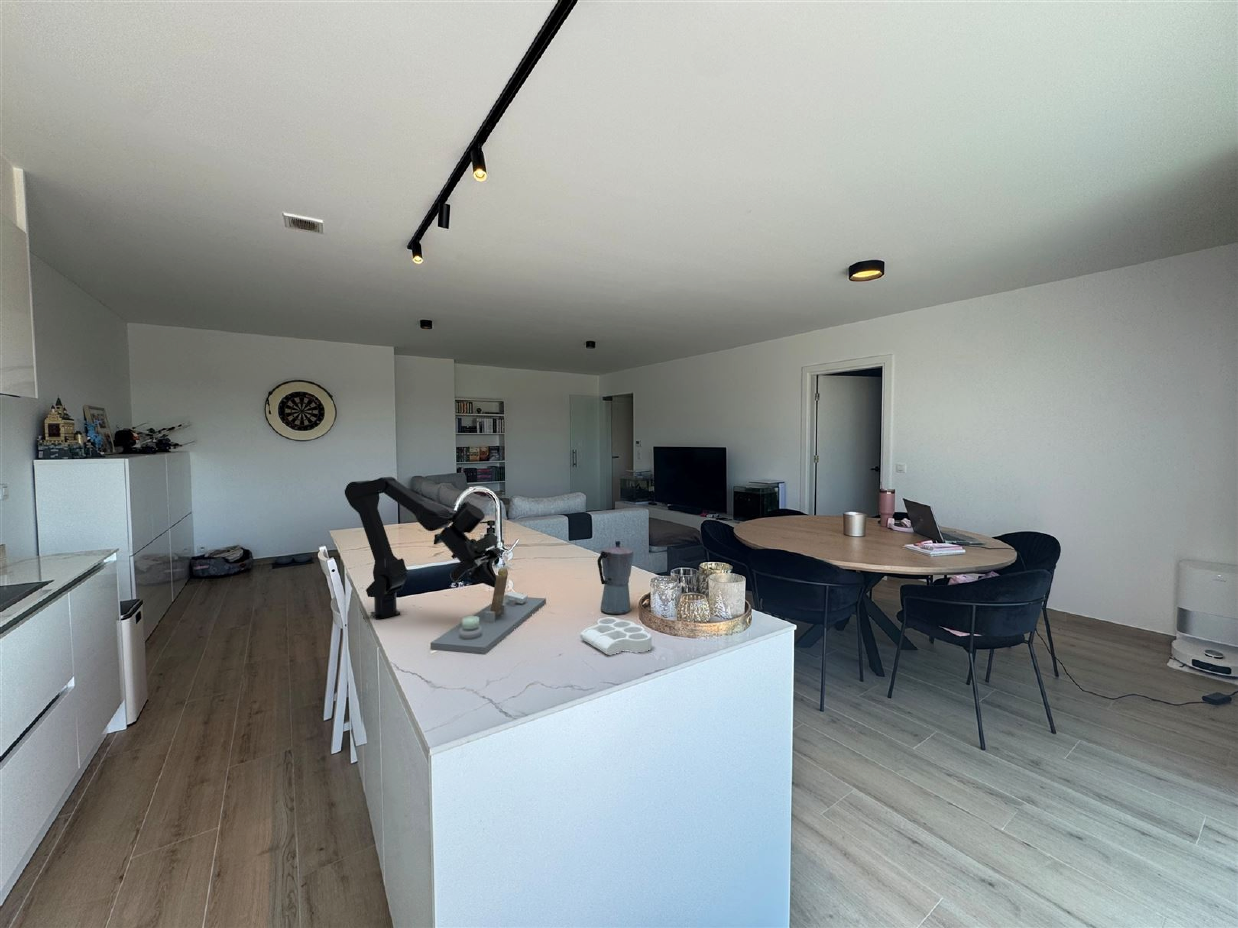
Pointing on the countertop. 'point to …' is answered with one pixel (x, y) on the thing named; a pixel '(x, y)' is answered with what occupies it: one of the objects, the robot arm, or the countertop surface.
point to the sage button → (470, 622)
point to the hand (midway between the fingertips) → (497, 586)
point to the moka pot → (615, 578)
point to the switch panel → (488, 627)
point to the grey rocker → (516, 597)
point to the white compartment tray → (617, 636)
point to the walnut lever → (499, 591)
